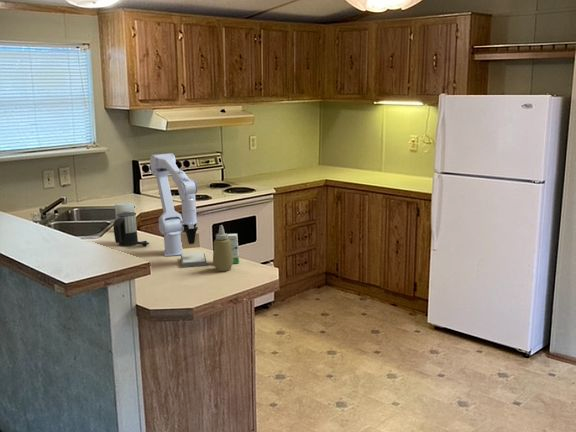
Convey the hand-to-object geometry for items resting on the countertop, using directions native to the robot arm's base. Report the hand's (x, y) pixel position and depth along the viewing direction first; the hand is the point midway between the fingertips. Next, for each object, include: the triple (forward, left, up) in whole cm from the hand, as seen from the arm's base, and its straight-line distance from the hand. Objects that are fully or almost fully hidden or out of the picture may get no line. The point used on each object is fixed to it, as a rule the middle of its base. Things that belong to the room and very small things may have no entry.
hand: (191, 242), depth 260 cm
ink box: (+5, +15, -9) cm, 18 cm away
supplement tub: (-72, -30, -9) cm, 79 cm away
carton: (0, 0, -2) cm, 2 cm away
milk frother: (-39, -25, -9) cm, 47 cm away
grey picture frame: (0, +1, -9) cm, 9 cm away
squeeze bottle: (+15, +12, -9) cm, 21 cm away
